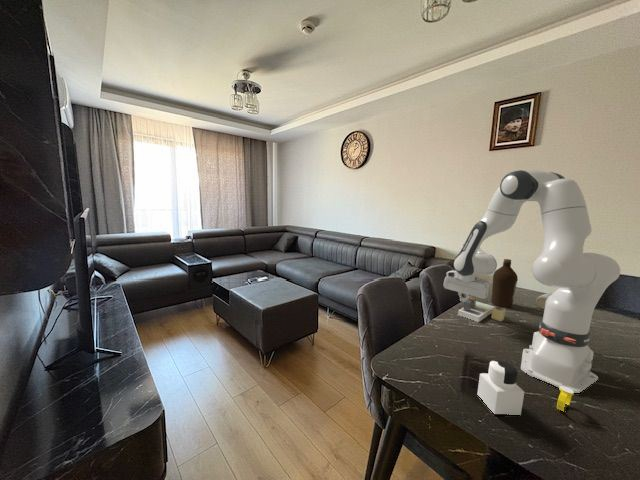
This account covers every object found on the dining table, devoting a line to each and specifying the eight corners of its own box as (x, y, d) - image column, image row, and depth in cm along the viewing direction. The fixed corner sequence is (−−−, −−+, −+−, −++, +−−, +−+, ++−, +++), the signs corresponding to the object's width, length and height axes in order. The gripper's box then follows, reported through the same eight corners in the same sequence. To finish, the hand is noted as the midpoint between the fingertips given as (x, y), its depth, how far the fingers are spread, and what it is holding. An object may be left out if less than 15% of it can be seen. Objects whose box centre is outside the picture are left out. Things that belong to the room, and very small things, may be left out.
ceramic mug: (533, 307, 135) (535, 293, 134) (540, 304, 139) (543, 291, 137) (558, 315, 126) (561, 300, 124) (566, 312, 129) (569, 298, 128)
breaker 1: (467, 310, 121) (468, 302, 120) (463, 309, 123) (464, 301, 122) (470, 309, 123) (471, 301, 122) (466, 307, 125) (467, 300, 124)
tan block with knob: (501, 321, 118) (502, 310, 117) (491, 318, 121) (492, 307, 120) (504, 319, 120) (505, 308, 119) (494, 316, 123) (495, 305, 122)
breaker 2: (472, 308, 124) (473, 298, 124) (468, 306, 126) (469, 297, 125) (475, 306, 126) (476, 297, 126) (471, 305, 128) (472, 296, 127)
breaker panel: (478, 322, 116) (478, 316, 116) (457, 315, 123) (458, 309, 123) (494, 311, 128) (494, 306, 128) (474, 305, 135) (475, 300, 135)
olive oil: (492, 306, 135) (498, 260, 131) (487, 299, 145) (493, 256, 141) (516, 309, 131) (523, 262, 127) (510, 302, 140) (516, 258, 137)
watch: (559, 402, 70) (563, 382, 70) (572, 409, 68) (577, 388, 67) (551, 409, 67) (556, 389, 66) (565, 417, 65) (570, 396, 64)
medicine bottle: (500, 395, 72) (506, 356, 70) (521, 416, 65) (528, 374, 63) (476, 395, 72) (481, 356, 70) (494, 416, 65) (500, 374, 63)
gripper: (492, 279, 121) (488, 306, 123) (449, 269, 137) (446, 294, 139) (487, 281, 117) (483, 309, 120) (443, 271, 133) (440, 296, 135)
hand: (463, 301), depth 130 cm, fingers closed
